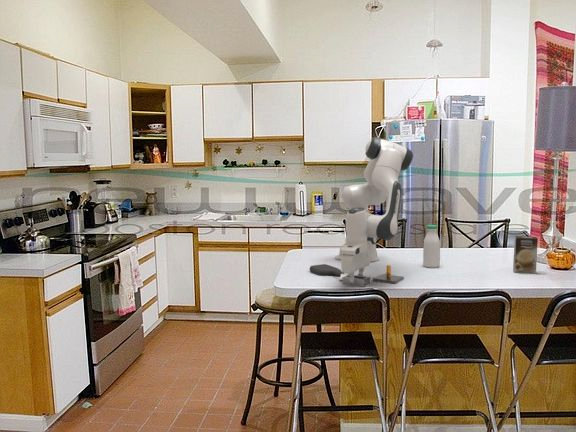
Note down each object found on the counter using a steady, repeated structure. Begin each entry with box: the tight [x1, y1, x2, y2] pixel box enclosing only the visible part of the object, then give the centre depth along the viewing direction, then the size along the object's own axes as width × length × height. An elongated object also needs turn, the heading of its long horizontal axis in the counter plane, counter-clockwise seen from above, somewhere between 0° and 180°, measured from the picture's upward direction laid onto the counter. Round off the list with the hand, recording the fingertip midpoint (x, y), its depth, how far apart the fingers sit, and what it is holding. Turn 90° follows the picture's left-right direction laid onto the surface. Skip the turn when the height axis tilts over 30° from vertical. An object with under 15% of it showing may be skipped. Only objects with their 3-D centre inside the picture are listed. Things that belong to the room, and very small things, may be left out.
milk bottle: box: [422, 224, 441, 269], centre depth 247 cm, size 8×8×20 cm
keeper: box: [372, 264, 405, 285], centre depth 221 cm, size 10×10×7 cm
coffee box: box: [512, 235, 539, 275], centre depth 232 cm, size 9×6×16 cm
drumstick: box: [309, 263, 347, 282], centre depth 233 cm, size 3×11×24 cm
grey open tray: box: [341, 274, 371, 288], centre depth 215 cm, size 10×6×3 cm, turn 57°
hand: (356, 280), depth 215 cm, fingers closed on grey open tray, 6 cm apart
